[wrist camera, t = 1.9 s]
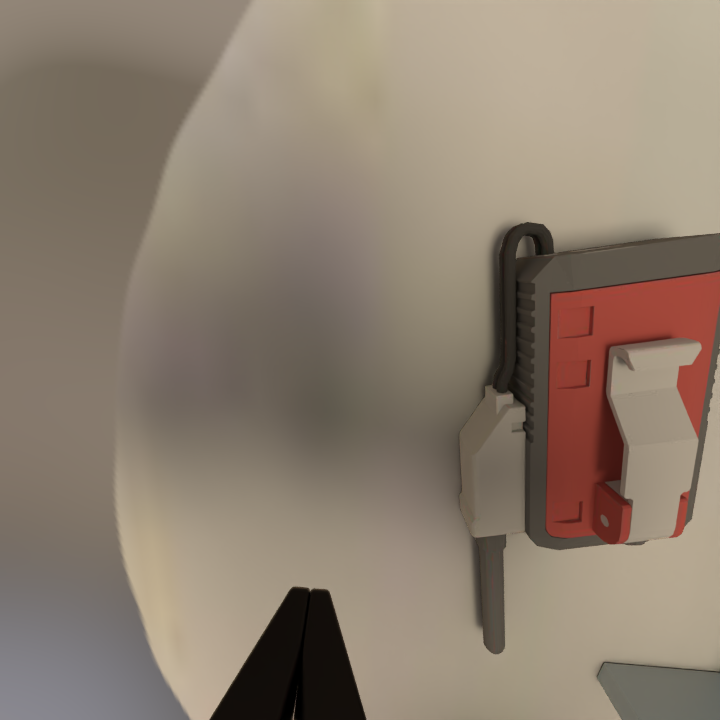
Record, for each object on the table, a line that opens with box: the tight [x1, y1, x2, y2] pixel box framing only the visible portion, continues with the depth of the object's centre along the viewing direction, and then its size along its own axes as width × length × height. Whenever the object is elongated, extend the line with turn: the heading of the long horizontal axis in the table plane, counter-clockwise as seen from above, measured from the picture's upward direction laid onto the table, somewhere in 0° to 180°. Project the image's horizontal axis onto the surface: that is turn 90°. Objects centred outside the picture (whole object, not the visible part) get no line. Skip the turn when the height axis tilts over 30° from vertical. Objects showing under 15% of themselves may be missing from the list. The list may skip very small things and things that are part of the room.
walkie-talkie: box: [459, 222, 720, 654], centre depth 13 cm, size 9×4×20 cm
